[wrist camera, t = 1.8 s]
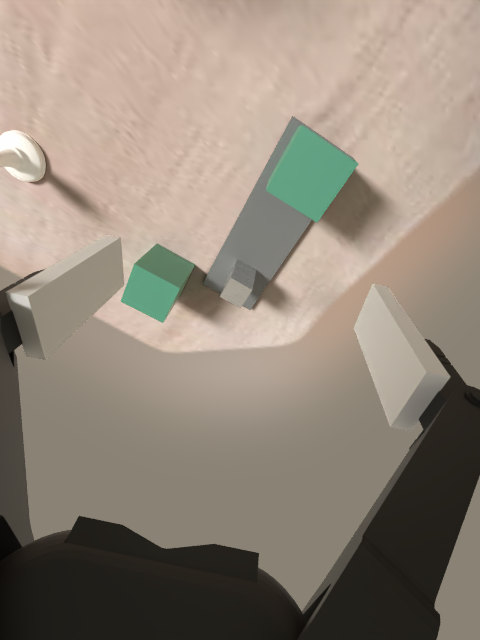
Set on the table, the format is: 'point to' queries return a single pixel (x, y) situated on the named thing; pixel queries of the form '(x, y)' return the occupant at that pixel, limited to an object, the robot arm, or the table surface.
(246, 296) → the post
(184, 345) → the table surface
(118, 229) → the table surface
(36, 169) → the chess piece
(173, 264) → the green block
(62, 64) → the table surface
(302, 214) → the stand
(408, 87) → the table surface
